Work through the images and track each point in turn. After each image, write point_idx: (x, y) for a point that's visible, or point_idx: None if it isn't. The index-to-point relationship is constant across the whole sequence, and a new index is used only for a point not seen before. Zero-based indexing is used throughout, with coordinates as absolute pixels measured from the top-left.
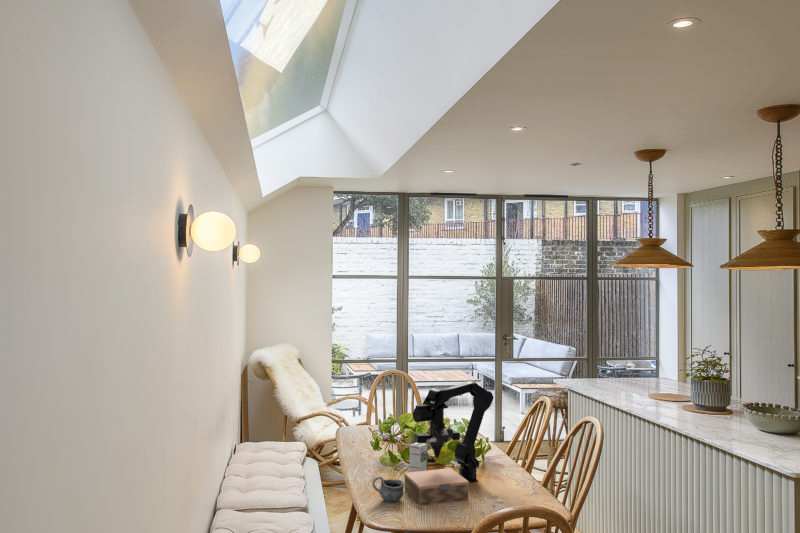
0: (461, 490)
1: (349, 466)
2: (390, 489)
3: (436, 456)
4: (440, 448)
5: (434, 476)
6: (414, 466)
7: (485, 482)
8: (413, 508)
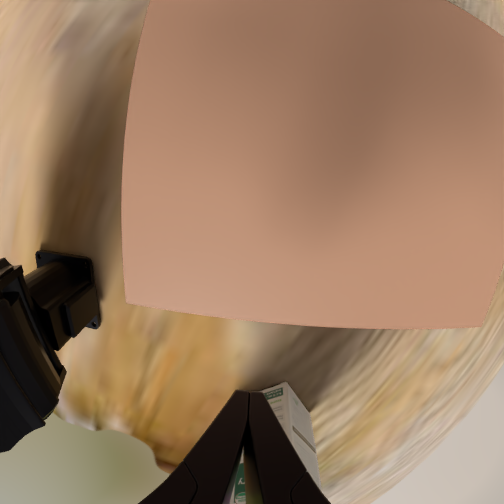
0: None
1: (390, 486)
2: None
3: (262, 402)
4: (183, 486)
5: (378, 145)
6: (306, 444)
7: (21, 228)
8: None
